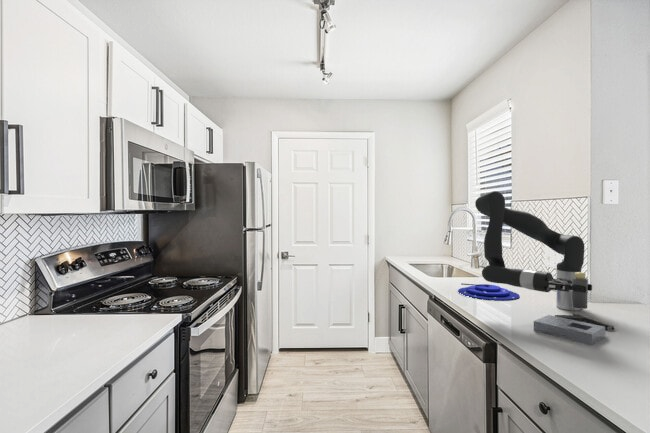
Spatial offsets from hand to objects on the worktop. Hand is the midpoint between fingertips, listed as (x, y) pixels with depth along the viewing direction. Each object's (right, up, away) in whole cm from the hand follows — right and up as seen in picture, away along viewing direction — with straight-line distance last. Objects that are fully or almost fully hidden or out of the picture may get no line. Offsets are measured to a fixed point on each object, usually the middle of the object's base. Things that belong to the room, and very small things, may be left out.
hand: (588, 288), depth 122 cm
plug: (-2, -7, +2) cm, 8 cm away
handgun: (+10, -18, +16) cm, 26 cm away
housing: (-4, -17, +5) cm, 18 cm away
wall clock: (-4, -17, +67) cm, 69 cm away
